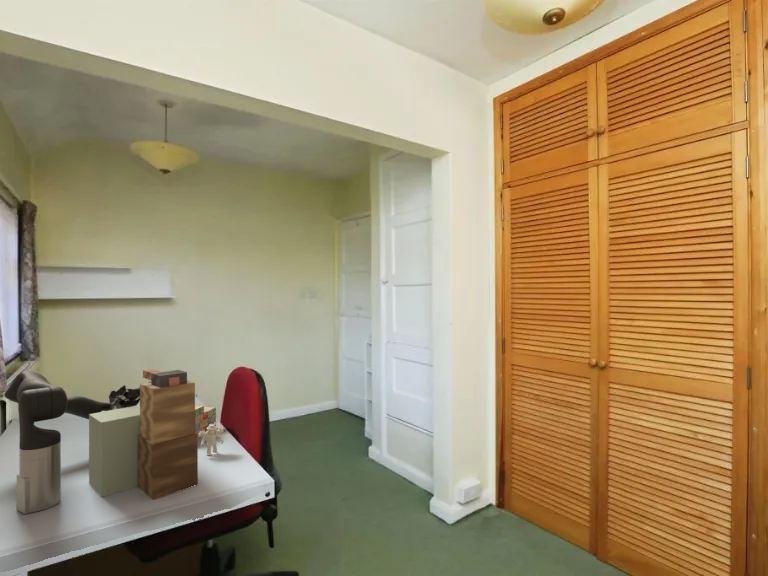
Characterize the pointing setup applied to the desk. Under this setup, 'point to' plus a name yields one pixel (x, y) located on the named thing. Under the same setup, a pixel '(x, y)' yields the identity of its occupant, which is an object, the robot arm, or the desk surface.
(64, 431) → the desk surface
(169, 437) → the tower
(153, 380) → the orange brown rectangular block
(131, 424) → the upright pale green block
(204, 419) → the stack of blocks
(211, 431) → the cream toy figurine
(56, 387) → the robot arm
